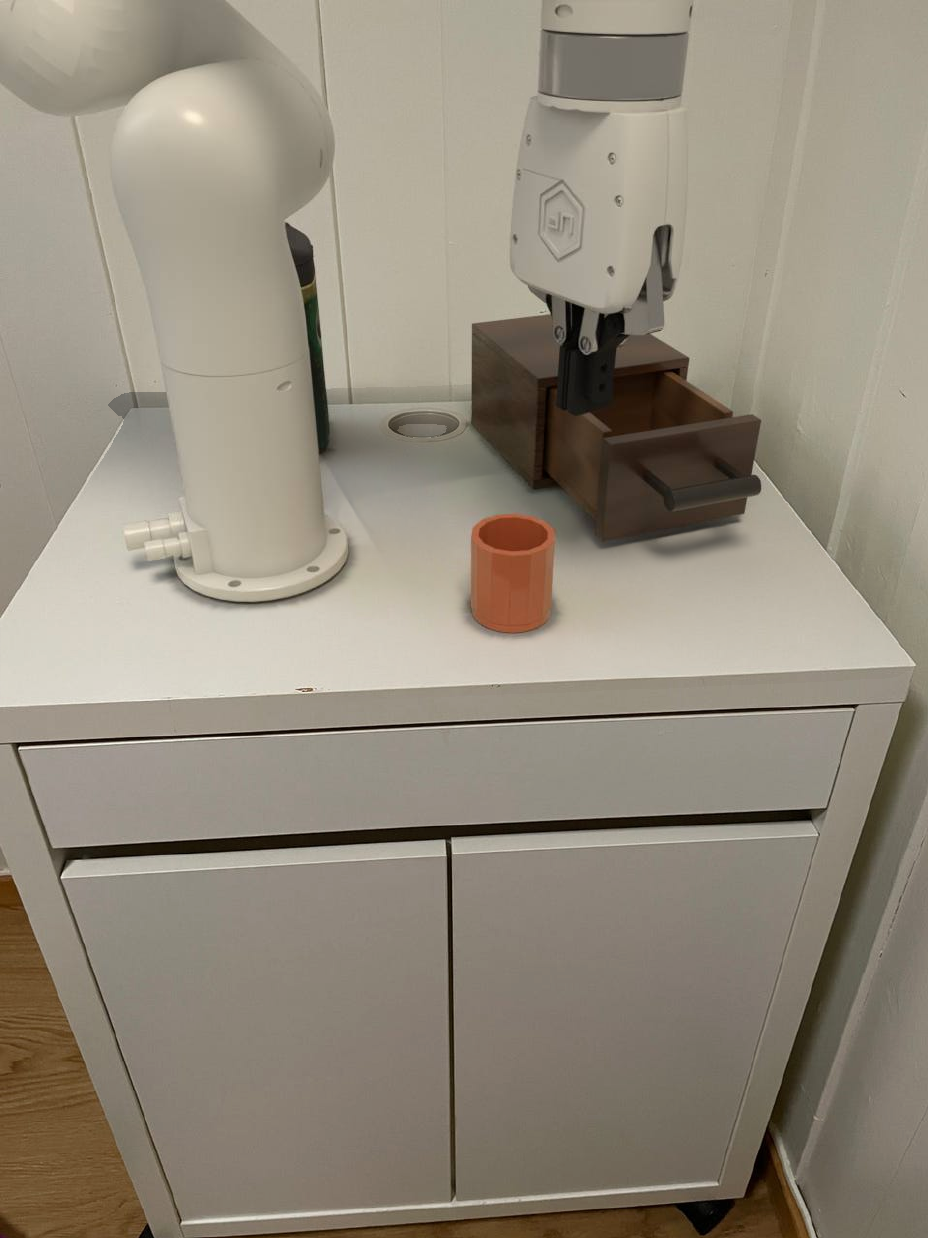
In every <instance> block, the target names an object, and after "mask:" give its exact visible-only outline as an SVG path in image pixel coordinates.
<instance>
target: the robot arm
mask: <svg viewBox="0 0 928 1238" xmlns="http://www.w3.org/2000/svg"><path fill="white" fill-rule="evenodd" d="M693 4H694V0H541V9H540V10H541V14H540V31H539V32H540V34H539V51H538V78H537V95H533V96H531V97H530V98H529V102H528V105H527V110H526V113H525V117H524V122H523V127H522V133H521V138H520V141H519V148H518V149H519V150H518V156H517V163H516V169H515V172H516V173H515V177H514V178H515V179H514V188H513V198H512V207H511V220H510V221H511V222H510V223H511V224H510V237H509V267H510V270H511V272H512V274H513V275H514V277H516V278H517V279H518V280H519V281H520V282H521V283H523V284H524V285H526V286H527V288H528V290H529V291H530V292H531V293H532V294H533V295H534V296H536V298H537V299H539V300H540V301H542V302H543V303H544V304H546V307H547V309H548V312H549V313H550V314H551V316H552V322H553V336H554V339H555V341H556V342H557V343H559V344H562V346H560V349H559V365H558V380H557V395H556V406H557V407H558V408H560V409H562V410H567V411H568V413H570V414H572V415H574V416H579V415H582V414H586V413H589V412H592V411H596V410H599V409H603V408H606V407H608V406H609V405H610V403H611V400H612V390H613V380H614V370H615V359H616V349H617V347H621V346H623V345H624V344H625V342H626V339H627V337H628V336H629V335H646V334H654V333H658V332H661V331H662V330H664V328H665V308H664V307H665V306H664V302H666V301H668V300H670V299H671V298H672V297H673V295H674V293H675V291H676V287H677V284H678V279H679V276H680V270H681V264H682V257H683V250H684V242H685V231H686V219H687V203H688V184H689V140H688V139H689V137H688V135H689V134H688V121H687V120H688V118H687V108H686V107H682V99H683V98H682V97H683V89H684V82H685V81H684V80H685V72H686V65H687V58H688V57H687V56H688V47H689V41H690V33H689V32H690V30H691V24H692V23H691V22H692V13H693ZM0 85H2V86H3V87H4V88H5V89H7V90H8V91H9V92H10V93H11V94H13V95H14V96H15V97H17V98H18V99H20V100H21V101H22V102H24V103H25V104H26V105H28V106H30V107H31V108H32V109H35V110H37V111H39V112H41V113H43V114H46V115H47V114H48V115H52V116H56V117H62V118H70V117H71V118H72V117H73V118H74V117H79V116H86V115H87V116H88V115H93V114H97V113H101V112H106V111H109V110H112V109H116V108H120V107H123V106H125V107H124V108H123V110H122V112H121V114H120V115H119V117H118V119H117V121H116V124H115V126H114V130H113V133H112V138H111V142H110V151H109V170H110V180H111V185H112V190H113V194H114V199H115V201H116V204H117V207H118V211H119V214H120V216H121V219H122V223H123V225H124V228H125V231H126V233H127V236H128V239H129V241H130V244H131V247H132V249H133V252H134V255H135V258H136V262H137V265H138V268H139V270H140V275H141V278H142V282H143V286H144V290H145V293H146V298H147V302H148V307H149V311H150V316H151V322H152V327H153V331H154V337H155V341H156V348H157V352H158V353H157V354H158V358H159V361H160V366H161V372H162V377H163V383H164V388H165V393H166V394H165V395H166V399H167V405H168V410H169V415H170V421H171V428H172V432H173V438H174V444H175V448H176V454H177V460H178V465H179V472H180V476H181V480H182V489H183V494H184V496H180V497H179V498H178V501H179V507H180V510H177V511H172V512H167V517H165V518H160V519H153V520H147V519H146V520H140V521H134V522H133V521H132V522H127V523H122V524H121V526H122V532H123V535H124V541H125V545H126V549H127V551H128V552H129V551H136V550H141V549H142V550H143V549H144V550H145V555H146V559H147V560H146V561H147V562H153V561H157V560H163V559H167V558H169V557H170V558H171V557H173V563H174V569H175V571H176V575H177V577H178V578H179V579H180V580H181V582H182V583H183V584H184V585H185V586H187V587H188V588H190V589H191V590H192V591H194V592H197V593H199V594H201V595H203V596H206V597H209V598H213V599H217V600H221V601H229V602H236V603H237V602H240V603H257V602H269V601H275V600H279V599H280V600H281V599H285V598H290V597H293V596H297V595H300V594H303V593H306V592H308V591H310V590H313V589H314V588H318V587H319V586H321V585H322V584H324V583H326V582H327V581H329V580H330V579H331V578H333V577H334V576H335V575H336V574H337V573H338V572H339V571H340V570H342V568H343V566H344V564H346V562H347V559H348V557H349V539H348V536H347V535H348V534H347V532H346V530H345V529H344V527H343V526H342V524H341V523H339V521H337V520H336V519H334V518H333V517H332V516H331V515H328V514H326V513H325V507H324V506H325V505H324V495H323V486H322V485H323V483H322V474H321V465H320V464H321V463H320V454H319V453H320V452H319V451H318V440H317V429H316V418H315V408H314V397H313V386H312V375H311V364H310V353H309V346H308V337H307V326H306V317H305V310H304V303H303V297H302V292H301V287H300V283H299V279H298V275H297V271H296V268H295V265H294V261H293V258H292V254H291V251H290V247H289V243H288V239H287V234H286V228H285V222H286V219H288V218H289V217H291V216H293V215H294V214H296V213H297V212H298V211H299V210H302V209H303V208H304V207H305V206H306V205H308V204H309V203H310V202H312V200H314V199H315V197H317V195H319V193H320V192H321V191H322V189H323V188H324V186H325V185H326V183H327V181H328V180H329V177H330V175H331V171H332V169H333V164H334V160H335V153H336V151H335V150H336V141H335V133H334V126H333V122H332V119H331V116H330V113H329V110H328V108H327V106H326V103H325V101H324V99H323V97H322V96H321V94H320V93H319V91H318V89H317V88H316V87H315V85H314V84H313V83H312V82H311V80H310V79H309V78H308V77H307V75H305V73H304V72H303V71H302V70H301V69H300V68H299V67H298V66H297V65H296V64H295V63H294V62H293V61H292V60H291V59H290V58H289V57H288V56H287V55H285V53H283V51H281V50H280V49H279V48H278V47H277V46H276V45H275V44H274V43H273V42H272V41H270V40H269V38H267V37H266V36H265V35H264V34H263V33H262V32H261V31H260V30H258V28H256V26H254V25H253V24H252V23H251V22H250V21H249V20H247V19H246V18H245V17H244V16H243V15H242V14H241V13H240V12H239V11H238V10H237V9H235V7H233V5H231V4H230V3H229V2H228V1H227V0H0ZM605 314H608V315H607V316H606V317H605ZM604 317H605V318H604Z"/></svg>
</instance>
